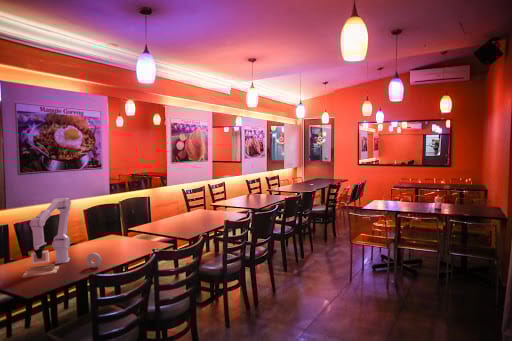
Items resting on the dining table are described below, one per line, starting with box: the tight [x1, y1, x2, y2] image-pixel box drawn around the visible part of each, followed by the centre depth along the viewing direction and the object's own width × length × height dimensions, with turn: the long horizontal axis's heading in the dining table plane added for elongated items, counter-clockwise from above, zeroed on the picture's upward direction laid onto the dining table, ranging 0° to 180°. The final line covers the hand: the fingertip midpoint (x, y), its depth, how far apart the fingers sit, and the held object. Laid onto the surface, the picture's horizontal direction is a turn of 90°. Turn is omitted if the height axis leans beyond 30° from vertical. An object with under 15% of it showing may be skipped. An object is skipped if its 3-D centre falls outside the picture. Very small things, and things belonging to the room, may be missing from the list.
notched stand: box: [21, 263, 60, 279], centre depth 216 cm, size 12×18×4 cm, turn 111°
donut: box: [85, 252, 102, 269], centre depth 221 cm, size 10×4×10 cm, turn 83°
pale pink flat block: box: [30, 250, 50, 265], centre depth 216 cm, size 3×9×7 cm, turn 111°
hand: (40, 257), depth 216 cm, fingers closed on pale pink flat block, 2 cm apart
